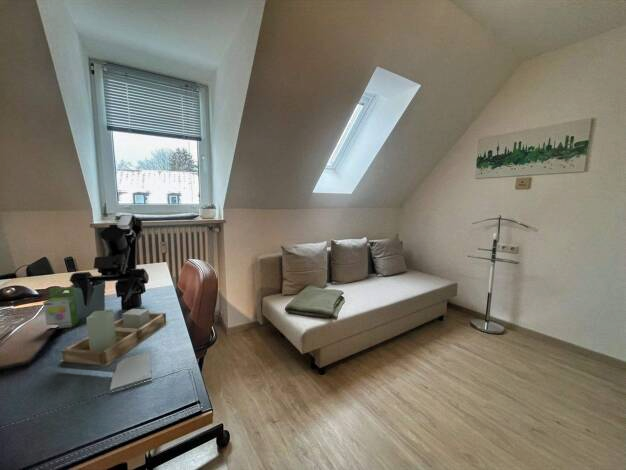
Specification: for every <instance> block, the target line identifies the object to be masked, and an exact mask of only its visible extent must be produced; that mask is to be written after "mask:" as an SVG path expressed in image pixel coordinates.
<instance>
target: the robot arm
mask: <svg viewBox="0 0 626 470" xmlns="http://www.w3.org/2000/svg"><path fill="white" fill-rule="evenodd" d="M142 221H143V220H141V219H140V218H138V217H136V214H127V213H126V214H123V213H122V214H119V219H118V220H117V223H116V224H109V227H106V228H104V229H103V230H102V231H101V232H100V234H99V235H100V238H101V240H102V242H103V245H104V248H105V249H106V250H108V251H107V253H106V256H95V257H94V260H93V261H94V263H93V268H94V269H97V273H98V274H100V275H92V273H91V272H89V271H82V272H74V273H72V274H71V275H70V278H69V282H70V283H72V284H74V285H75V286H76V287H77V288H80V289H81V290H82V293H83V299H84V305H85V306H88V305H89V303H90V300H91V298H92V295H93V292H94V289H95V288H94V287H93V286H94V285H95V282H105V283H106V282H114V281H116V282H115V286H114V287H115V292H116V298H121V299H120V303H121V304H120V306H121V311H129V310H131V309H138V308H139V307H140V306H141V305H142V304H143V302H142V295H143V294H144V293H146V285H145V284H148V283H149V274H148V273H147V269H145V268H137V262H138V261H137V259H138V258H137V256H138V254H137V253H138V250H137V249H138V241H139V240H140V239H141V238H142V233H143V232H144V224H143V222H142Z"/></svg>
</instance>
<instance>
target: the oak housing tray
mask: <svg viewBox="0 0 626 470" xmlns="http://www.w3.org/2000/svg"><path fill="white" fill-rule="evenodd" d="M166 314H167V313H164V312H150V311H149V320H150V322H149V323H147V324H145V325H144V326H142V327H141V328H139V329H133V328H124V325H123V317H121V318H119V319H118V320H115V321H114V322H115V333H116V344H114V345H113V346H111V347H109V348H108V349H106V350H105V351H103V352H100V351H90V347H89V338H88V336H86V337H84V338H82V339H81V340H79V341H76V342H75V343H73V344H72V345H70V346H68V347H66V348H64V349H63V350H61V357H62V358H61V360H59V362H64V363H65V362H66V363H67V362H68V363H78V364H89V365H99V366H100V365H101V366H108V365H110V364H112V363H113V362H115V361H116V360H117V359H118V358H120V357H121V356H123V355H124V354H125V353H127V352H128V351H130V350H132V349H133V348H134V347H135V346H137V345H138V344H140V343H141V342H142V341H144V340H146V339H147V338H148V337H149V336H151V335H152V334H154V333H156V332H157V331H158V330H159V329H161V328H162V327H164V326H165V325H166V324H168V323H169V321H168V320H167V315H166Z"/></svg>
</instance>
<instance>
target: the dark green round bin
mask: <svg viewBox="0 0 626 470" xmlns="http://www.w3.org/2000/svg"><path fill="white" fill-rule="evenodd" d="M69 287H74V294H75V299H76V306H77V314H78V319H86V318H87V317H88V316H90V315H91V314H92V313H93V312H94V311H103V310H106V303H105V301H106V299H105V298H106V296H105V294H106V281H105V282H95V285H94V286H93V287H94V288H95V289H94V292H93V295H92V298H91V300H90V303H89V305H88V306H85V305H84V299H83V293H82V290H81V289H80V288H77V287H76V286H75V285H74V284H73V283H72V284H71V285H69Z"/></svg>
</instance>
